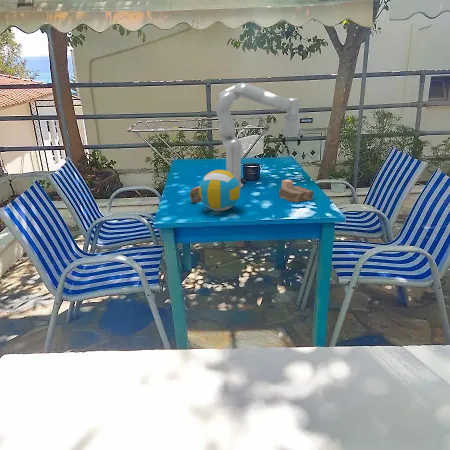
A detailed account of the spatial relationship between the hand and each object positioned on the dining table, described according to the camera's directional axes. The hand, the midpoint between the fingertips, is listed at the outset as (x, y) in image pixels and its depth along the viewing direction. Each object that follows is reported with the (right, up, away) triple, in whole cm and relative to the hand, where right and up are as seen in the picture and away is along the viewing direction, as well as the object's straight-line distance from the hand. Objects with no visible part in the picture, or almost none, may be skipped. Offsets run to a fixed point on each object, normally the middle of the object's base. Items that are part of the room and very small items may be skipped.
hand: (291, 144), depth 271 cm
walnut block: (-1, -37, -26) cm, 45 cm away
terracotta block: (-4, -30, -8) cm, 32 cm away
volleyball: (-46, -45, -46) cm, 79 cm away
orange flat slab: (-59, -39, -29) cm, 76 cm away
